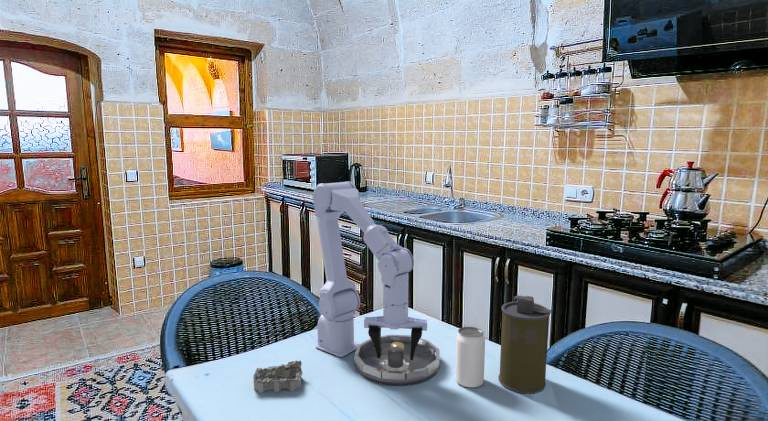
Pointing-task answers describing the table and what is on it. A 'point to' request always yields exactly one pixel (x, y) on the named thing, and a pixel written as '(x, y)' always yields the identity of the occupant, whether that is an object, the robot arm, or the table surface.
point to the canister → (524, 345)
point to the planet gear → (395, 361)
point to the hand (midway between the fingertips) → (395, 357)
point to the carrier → (419, 367)
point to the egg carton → (275, 372)
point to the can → (470, 357)
